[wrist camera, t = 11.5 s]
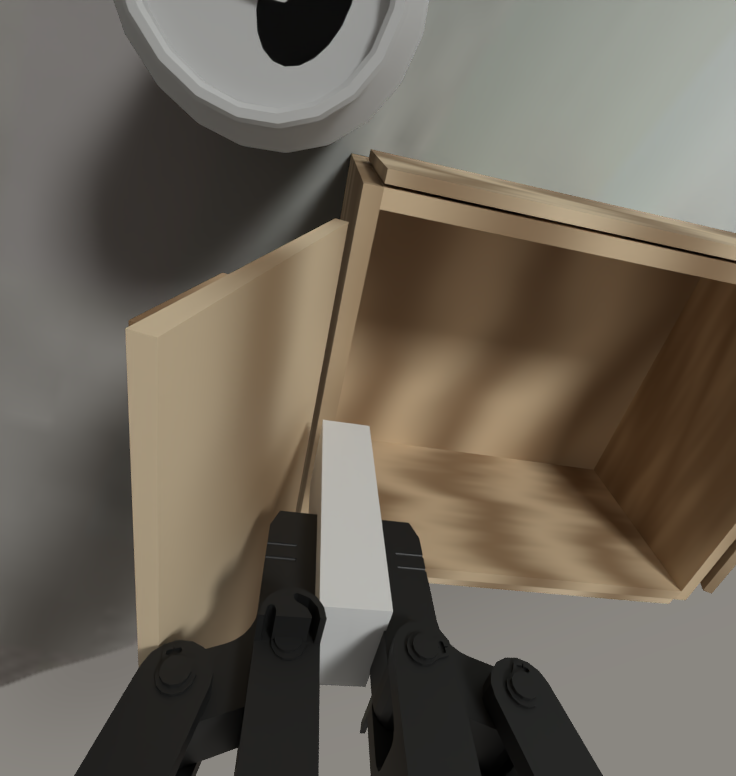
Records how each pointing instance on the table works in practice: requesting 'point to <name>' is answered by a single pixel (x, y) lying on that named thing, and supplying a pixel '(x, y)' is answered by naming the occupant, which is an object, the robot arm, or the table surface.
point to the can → (276, 63)
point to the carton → (536, 381)
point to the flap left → (223, 433)
